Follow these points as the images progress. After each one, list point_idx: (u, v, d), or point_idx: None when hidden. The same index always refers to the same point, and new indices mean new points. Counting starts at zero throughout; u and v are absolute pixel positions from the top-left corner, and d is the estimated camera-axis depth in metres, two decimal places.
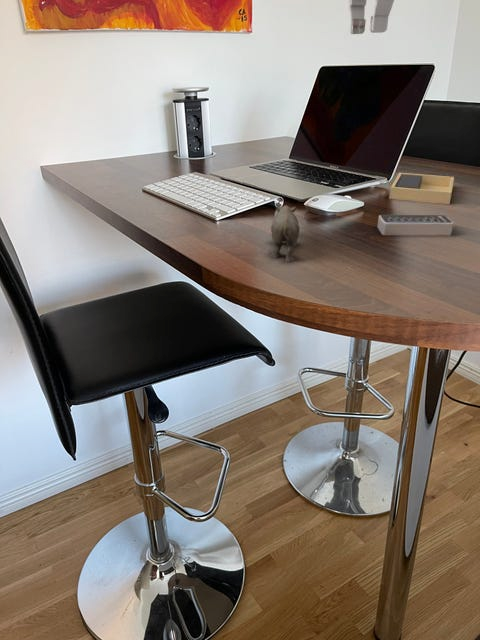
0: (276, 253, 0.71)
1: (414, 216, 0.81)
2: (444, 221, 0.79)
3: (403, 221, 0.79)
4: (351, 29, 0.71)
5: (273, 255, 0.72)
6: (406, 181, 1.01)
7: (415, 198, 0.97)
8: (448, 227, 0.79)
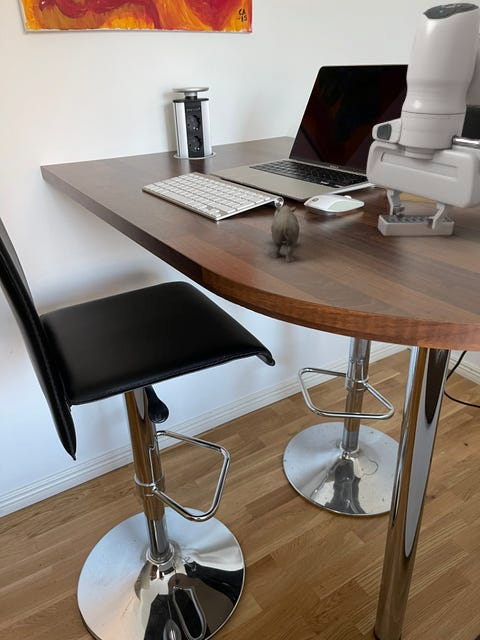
0: (276, 253, 0.71)
1: (414, 216, 0.81)
2: (445, 221, 0.79)
3: (404, 221, 0.79)
4: (393, 214, 0.83)
5: (273, 255, 0.72)
6: None
7: (415, 198, 0.97)
8: (449, 227, 0.79)
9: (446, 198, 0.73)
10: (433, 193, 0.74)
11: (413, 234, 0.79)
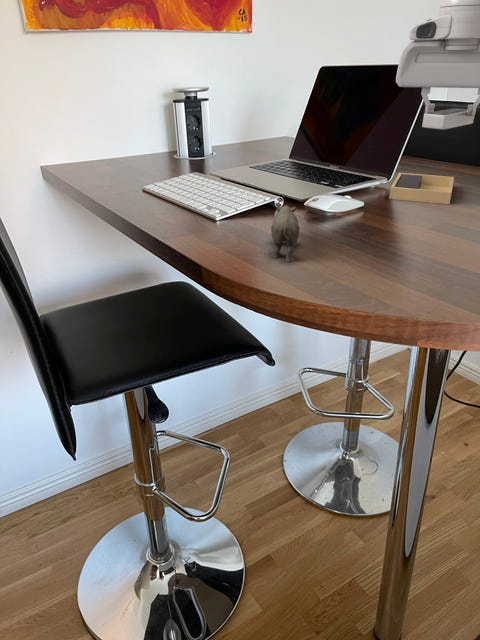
0: (276, 253, 0.71)
1: (444, 110, 0.92)
2: None
3: (451, 113, 0.88)
4: (429, 111, 0.91)
5: (273, 255, 0.72)
6: (406, 181, 1.01)
7: (415, 198, 0.97)
8: None
9: None
10: (479, 80, 0.85)
11: (457, 124, 0.90)
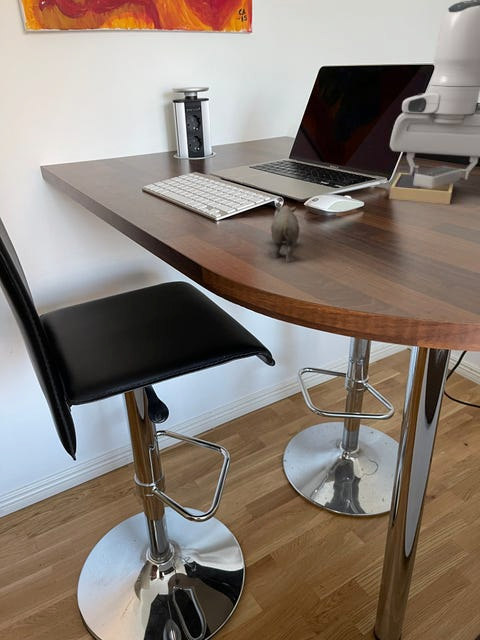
0: (276, 253, 0.71)
1: (433, 169, 1.00)
2: (455, 168, 1.01)
3: (439, 173, 0.97)
4: (414, 173, 1.00)
5: (273, 255, 0.72)
6: (406, 181, 1.01)
7: (415, 198, 0.97)
8: (460, 172, 1.01)
9: (477, 152, 0.93)
10: (464, 149, 0.94)
11: (445, 183, 0.98)
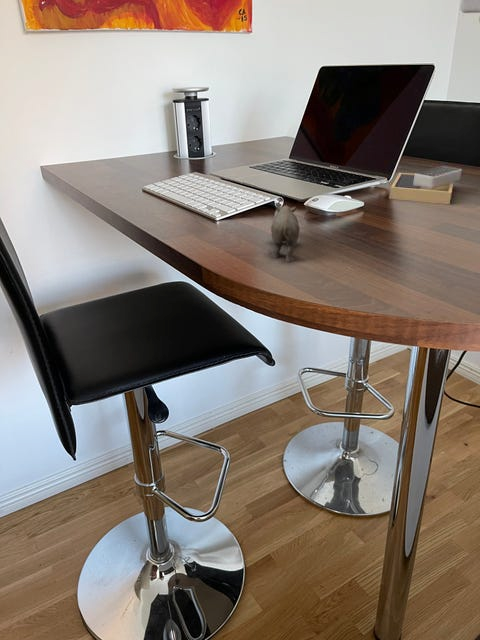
0: (276, 253, 0.71)
1: (433, 169, 1.00)
2: (455, 168, 1.01)
3: (439, 173, 0.97)
4: None
5: (273, 255, 0.72)
6: (406, 181, 1.01)
7: (415, 198, 0.97)
8: (460, 172, 1.01)
9: None
10: None
11: (445, 183, 0.98)
